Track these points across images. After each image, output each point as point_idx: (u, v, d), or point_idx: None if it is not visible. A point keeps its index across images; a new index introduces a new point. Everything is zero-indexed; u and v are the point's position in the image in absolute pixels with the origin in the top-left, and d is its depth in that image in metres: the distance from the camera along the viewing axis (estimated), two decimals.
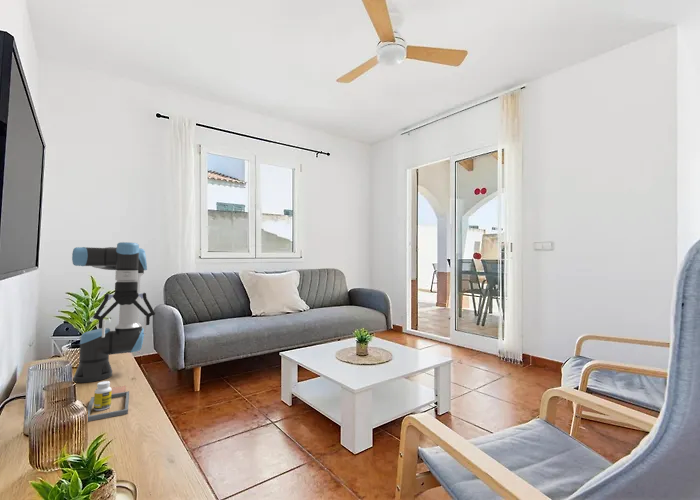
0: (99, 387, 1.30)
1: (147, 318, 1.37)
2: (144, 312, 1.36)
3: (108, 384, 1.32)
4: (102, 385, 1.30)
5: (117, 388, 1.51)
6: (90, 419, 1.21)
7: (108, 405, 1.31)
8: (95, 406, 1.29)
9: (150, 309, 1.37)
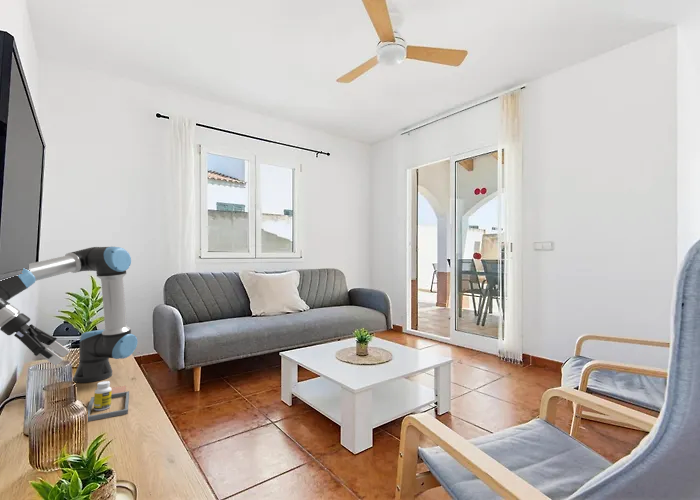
0: (99, 387, 1.30)
1: None
2: None
3: (108, 384, 1.32)
4: (102, 385, 1.30)
5: (117, 388, 1.51)
6: (90, 419, 1.21)
7: (108, 405, 1.31)
8: (95, 406, 1.29)
9: None
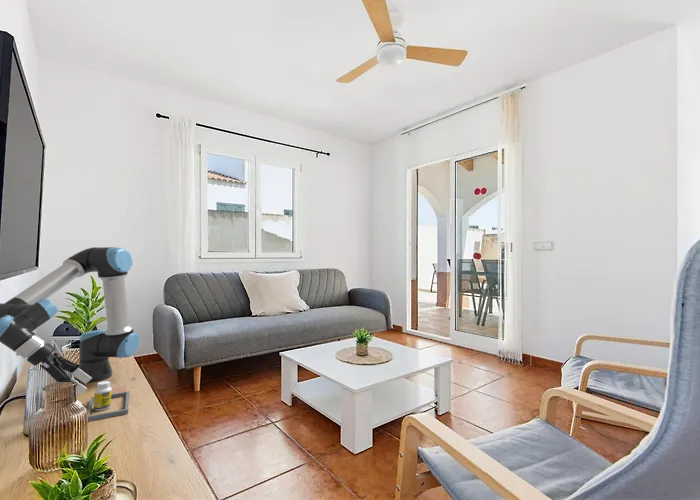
0: (99, 387, 1.30)
1: None
2: None
3: (108, 384, 1.32)
4: (102, 385, 1.30)
5: (117, 388, 1.51)
6: (90, 419, 1.21)
7: (108, 405, 1.31)
8: (95, 406, 1.29)
9: None
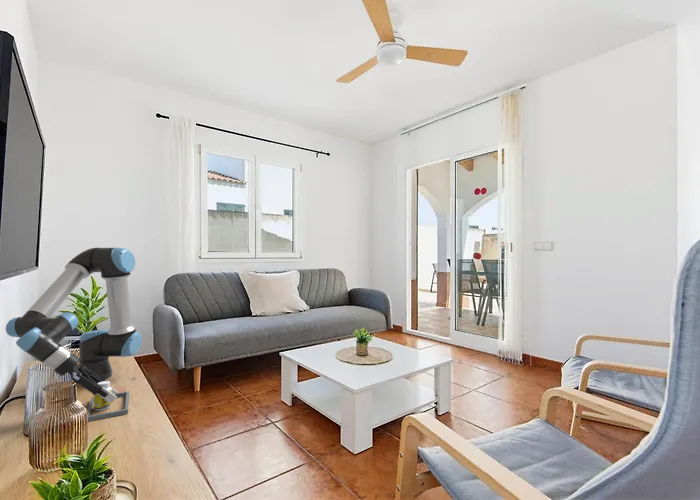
0: None
1: None
2: None
3: (108, 384, 1.32)
4: (102, 385, 1.30)
5: (117, 388, 1.51)
6: (90, 419, 1.21)
7: (108, 405, 1.31)
8: (95, 406, 1.29)
9: None
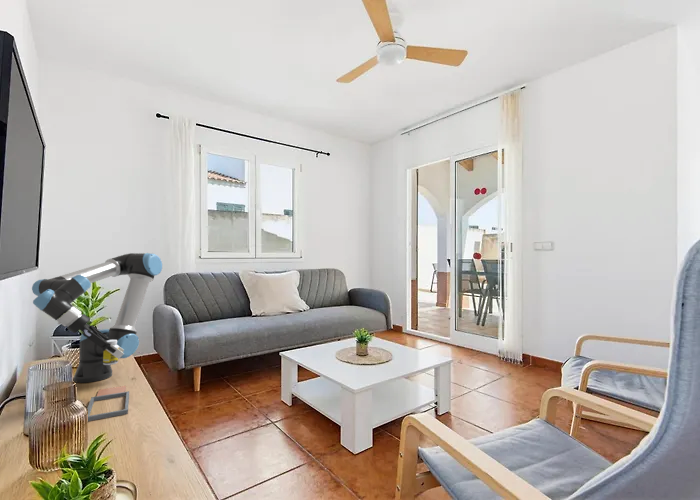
0: None
1: (107, 349, 1.42)
2: None
3: (116, 342, 1.46)
4: (110, 342, 1.44)
5: (117, 388, 1.51)
6: (90, 419, 1.21)
7: (116, 360, 1.45)
8: (104, 361, 1.43)
9: None
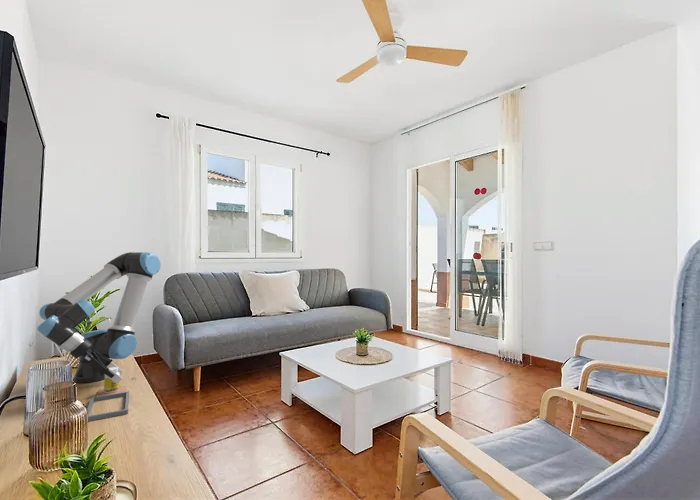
0: None
1: None
2: None
3: (116, 370, 1.48)
4: None
5: None
6: (90, 419, 1.21)
7: (117, 388, 1.47)
8: (105, 389, 1.45)
9: None
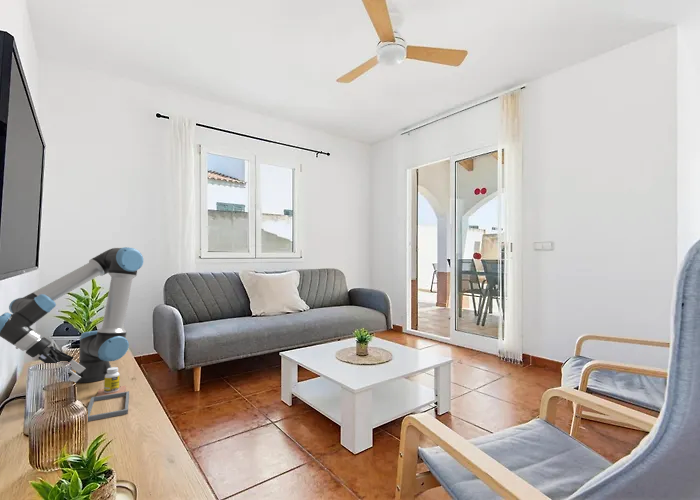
0: (108, 372, 1.46)
1: None
2: None
3: (116, 370, 1.48)
4: (111, 370, 1.46)
5: None
6: (90, 419, 1.21)
7: (117, 388, 1.47)
8: (105, 389, 1.45)
9: None
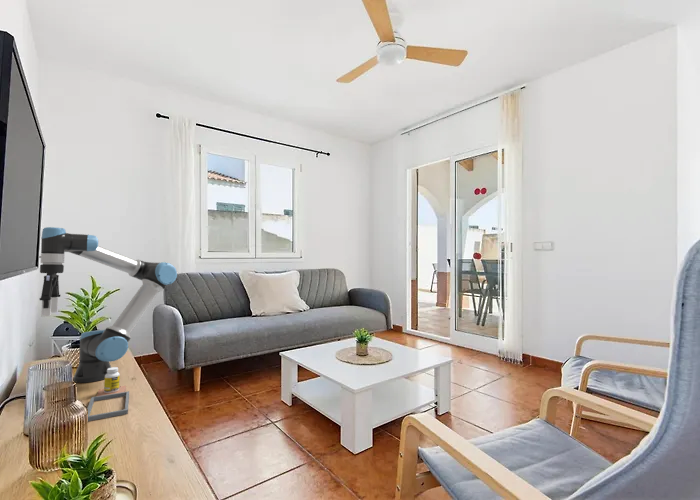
0: (109, 372, 1.46)
1: (44, 301, 1.36)
2: None
3: (116, 370, 1.48)
4: (111, 370, 1.46)
5: None
6: (90, 419, 1.21)
7: (117, 388, 1.47)
8: (105, 389, 1.45)
9: None
